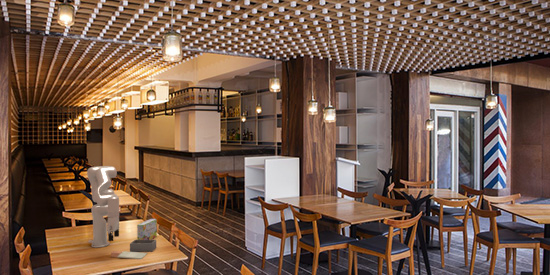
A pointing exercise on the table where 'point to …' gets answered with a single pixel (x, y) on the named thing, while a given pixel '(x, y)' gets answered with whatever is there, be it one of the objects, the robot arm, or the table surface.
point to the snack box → (147, 230)
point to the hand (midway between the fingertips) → (113, 238)
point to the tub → (143, 246)
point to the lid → (128, 254)
